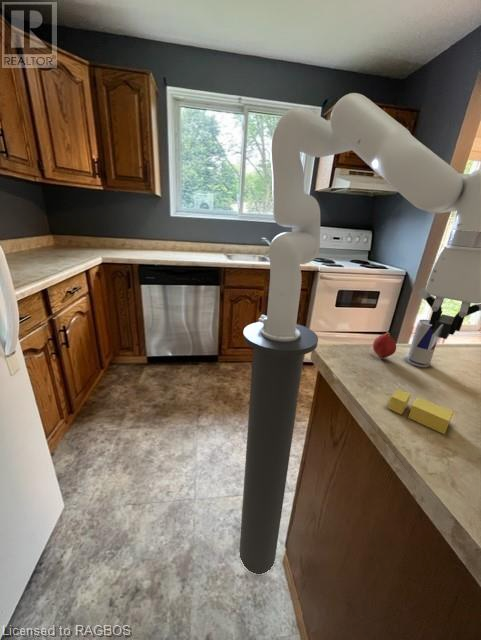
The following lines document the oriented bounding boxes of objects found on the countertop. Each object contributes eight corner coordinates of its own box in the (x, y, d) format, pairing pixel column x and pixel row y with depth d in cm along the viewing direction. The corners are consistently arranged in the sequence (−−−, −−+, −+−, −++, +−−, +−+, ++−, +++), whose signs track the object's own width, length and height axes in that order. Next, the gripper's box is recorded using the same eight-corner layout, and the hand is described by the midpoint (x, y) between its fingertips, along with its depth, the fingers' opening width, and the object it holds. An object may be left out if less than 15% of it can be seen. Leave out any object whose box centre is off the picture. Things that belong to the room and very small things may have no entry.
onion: (367, 352, 80) (373, 327, 78) (387, 354, 80) (394, 329, 77) (374, 361, 75) (381, 335, 72) (396, 363, 74) (403, 337, 72)
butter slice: (388, 408, 56) (391, 396, 55) (394, 400, 59) (398, 388, 58) (401, 414, 54) (405, 402, 53) (407, 406, 57) (411, 394, 56)
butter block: (408, 417, 53) (412, 405, 52) (413, 409, 56) (417, 396, 55) (444, 434, 50) (449, 421, 48) (448, 424, 52) (453, 411, 51)
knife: (420, 347, 51) (425, 331, 49) (438, 327, 61) (442, 314, 60) (437, 352, 49) (442, 336, 48) (452, 330, 60) (456, 317, 59)
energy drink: (429, 369, 72) (443, 328, 68) (406, 364, 74) (418, 323, 70) (428, 361, 76) (441, 322, 72) (406, 356, 79) (417, 317, 75)
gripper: (531, 245, 49) (493, 338, 55) (427, 238, 59) (406, 316, 66) (532, 246, 44) (491, 348, 50) (419, 238, 54) (396, 323, 61)
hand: (443, 329), depth 58 cm, fingers closed on knife, 2 cm apart
